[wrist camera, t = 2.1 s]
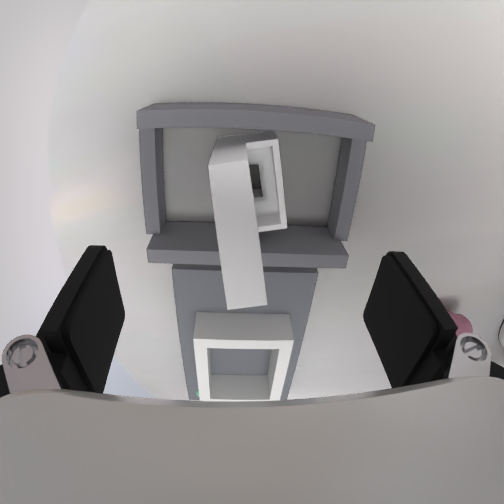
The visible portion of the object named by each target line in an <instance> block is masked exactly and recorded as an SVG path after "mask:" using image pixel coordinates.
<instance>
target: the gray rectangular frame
mask: <svg viewBox="0 0 504 504" xmlns="http://www.w3.org/2000/svg"><path fill="white" fill-rule="evenodd" d="M162 128H240V129H260V130H275V131H288V132H300V133H310V134H319V135H328V136H336V137H342V141H341V148H340V155H339V161H338V168H337V174H336V180H335V186H334V192H333V198H332V204H331V209H330V215H329V220H328V225H327V227H318V226H298V225H287V228H285V229H278V230H270V231H263V232H259V240H260V248H261V256H262V264H263V266H266V267H307V268H346V264H347V261H348V257H349V255H348V253H347V251H346V250H345V248H344V246H343V244H342V242H341V240H342V241H347V239H348V235H349V230H350V226H351V221H352V217H353V212H354V207H355V202H356V197H357V192H358V187H359V182H360V177H361V171H362V166H363V160H364V154H365V149H366V142H367V141H371V142H373V136H374V129H375V125H374V124H372V123H370V122H368V121H365V120H363V119H361V118H359V117H356V116H354V115H351V114H344V113H338V112H331V111H323V110H315V109H306V108H297V107H287V106H275V105H261V104H242V103H157V104H152V105H150V106H148V107H145V108H143V109H140V110H138V111H137V129H139V143H140V164H141V179H142V193H143V205H144V216H145V226H146V234H153V236H152V238H151V240H150V243H149V245H148V247H147V249H146V250H147V258H148V263H171V264H200V265H221V262H220V255H219V248H218V241H217V233H216V226H215V222H180V221H166V216H165V199H164V179H163V150H162Z"/></svg>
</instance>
